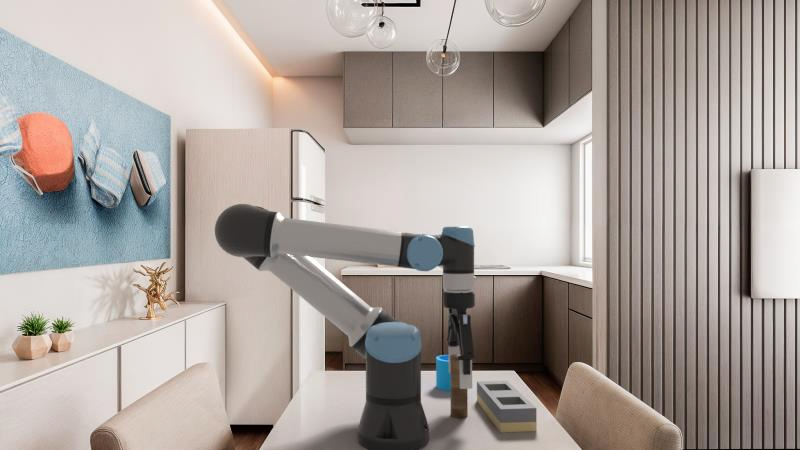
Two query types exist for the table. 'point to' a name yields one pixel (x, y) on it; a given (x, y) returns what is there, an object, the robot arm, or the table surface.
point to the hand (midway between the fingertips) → (459, 380)
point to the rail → (506, 406)
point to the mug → (443, 373)
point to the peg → (457, 391)
